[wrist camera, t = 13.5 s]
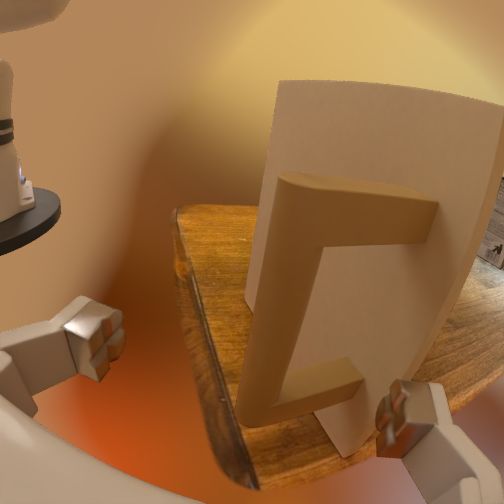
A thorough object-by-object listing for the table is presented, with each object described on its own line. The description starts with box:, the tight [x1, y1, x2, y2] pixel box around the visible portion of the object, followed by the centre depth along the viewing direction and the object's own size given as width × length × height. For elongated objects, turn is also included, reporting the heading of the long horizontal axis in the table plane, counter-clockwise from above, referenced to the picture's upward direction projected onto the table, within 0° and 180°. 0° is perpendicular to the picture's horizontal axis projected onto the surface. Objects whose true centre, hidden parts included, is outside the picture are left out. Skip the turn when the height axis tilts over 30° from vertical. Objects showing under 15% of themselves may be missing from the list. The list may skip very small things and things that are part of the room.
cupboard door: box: [234, 80, 504, 458], centre depth 16 cm, size 7×16×18 cm, turn 21°
